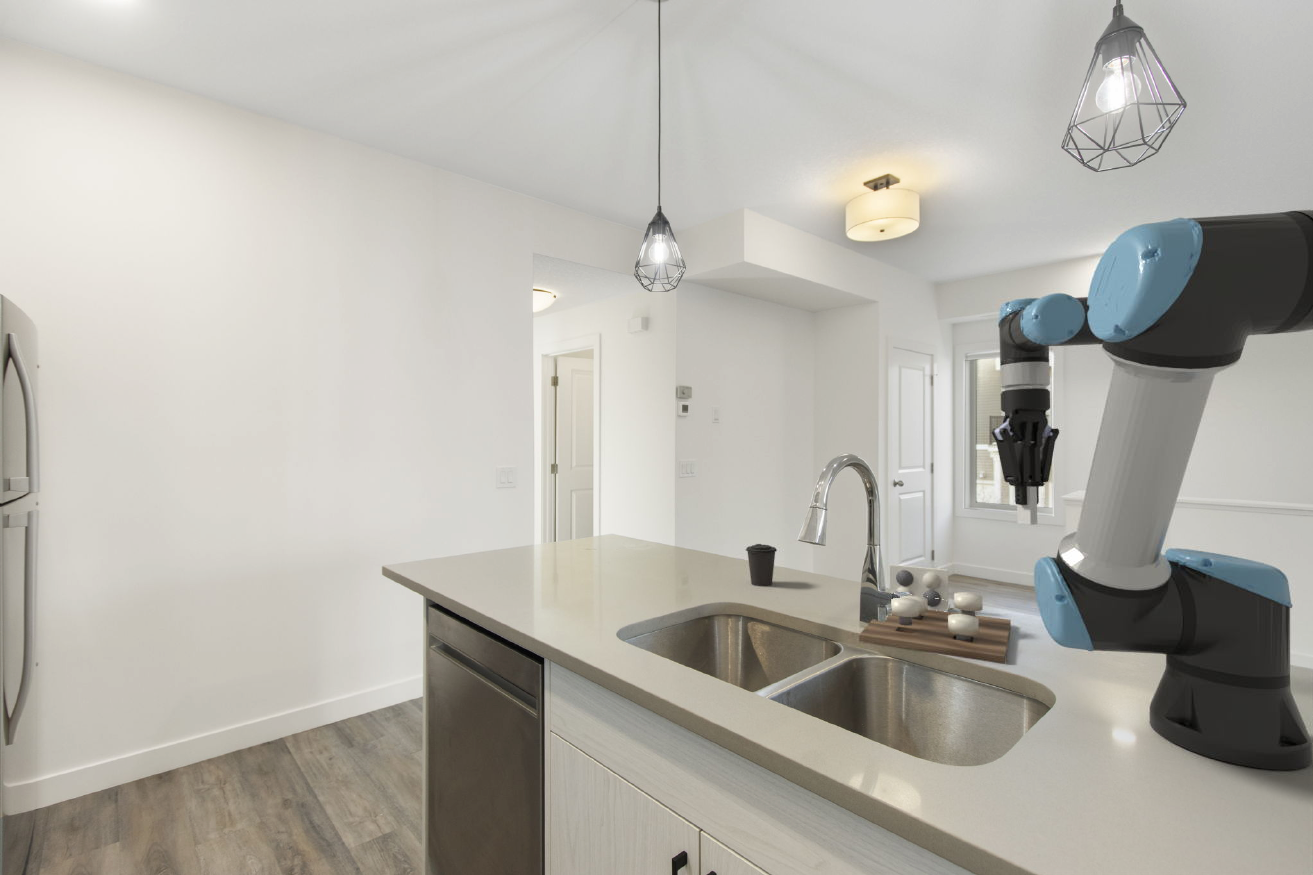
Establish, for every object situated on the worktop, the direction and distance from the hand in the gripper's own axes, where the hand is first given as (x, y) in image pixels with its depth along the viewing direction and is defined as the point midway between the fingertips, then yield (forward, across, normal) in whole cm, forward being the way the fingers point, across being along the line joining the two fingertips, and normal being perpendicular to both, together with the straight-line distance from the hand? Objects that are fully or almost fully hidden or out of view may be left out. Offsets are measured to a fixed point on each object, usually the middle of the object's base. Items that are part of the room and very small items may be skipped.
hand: (1027, 523), depth 111 cm
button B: (+20, +13, -16) cm, 29 cm away
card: (+22, -3, -32) cm, 39 cm away
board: (+23, +6, -15) cm, 28 cm away
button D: (+22, +6, -22) cm, 32 cm away
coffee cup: (+22, +20, -63) cm, 70 cm away
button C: (+20, -1, -15) cm, 25 cm away
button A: (+22, +7, -8) cm, 25 cm away
